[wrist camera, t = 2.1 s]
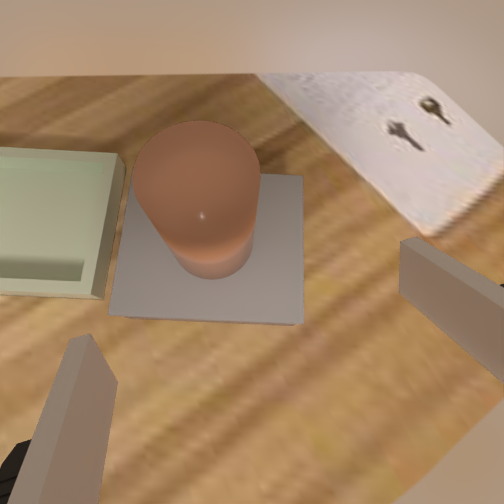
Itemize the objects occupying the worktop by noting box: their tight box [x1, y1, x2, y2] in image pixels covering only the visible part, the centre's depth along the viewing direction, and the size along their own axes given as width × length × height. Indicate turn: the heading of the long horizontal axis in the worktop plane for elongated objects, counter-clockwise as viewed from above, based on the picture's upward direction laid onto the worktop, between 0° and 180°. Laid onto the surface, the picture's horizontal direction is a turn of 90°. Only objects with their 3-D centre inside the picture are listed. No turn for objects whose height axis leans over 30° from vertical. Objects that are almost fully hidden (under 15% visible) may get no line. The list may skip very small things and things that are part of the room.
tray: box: [0, 147, 126, 300], centre depth 29 cm, size 13×13×2 cm
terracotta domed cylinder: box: [132, 121, 261, 280], centre depth 21 cm, size 6×6×10 cm
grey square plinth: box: [108, 167, 304, 326], centre depth 28 cm, size 14×12×4 cm
